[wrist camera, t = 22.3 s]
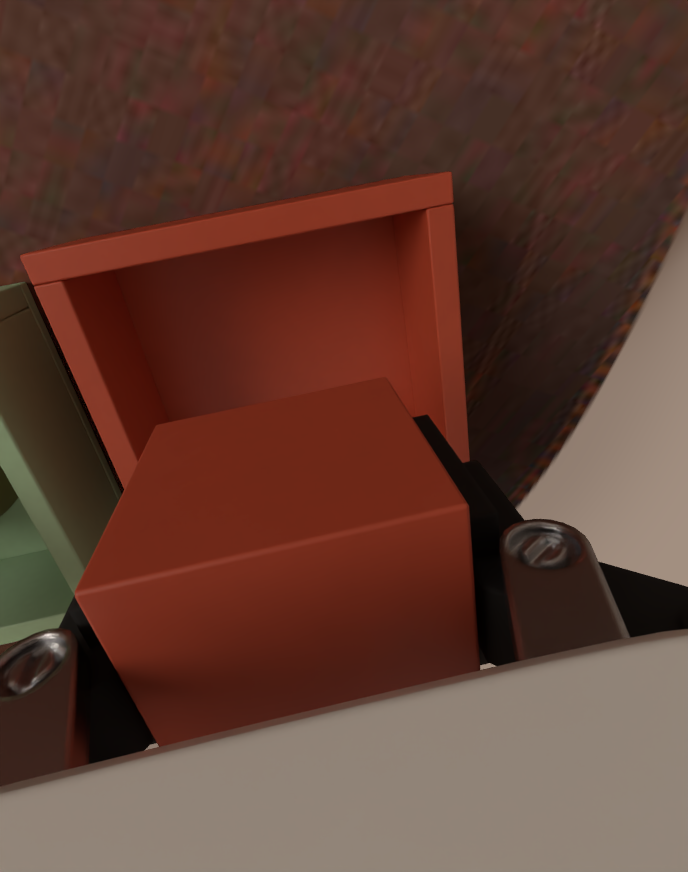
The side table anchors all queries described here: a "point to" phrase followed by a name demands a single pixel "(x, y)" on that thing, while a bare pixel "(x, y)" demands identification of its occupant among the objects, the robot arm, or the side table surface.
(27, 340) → the sage bin
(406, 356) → the rust bin
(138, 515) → the rust block
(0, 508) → the olive brown pawn
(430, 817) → the robot arm
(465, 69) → the side table surface
